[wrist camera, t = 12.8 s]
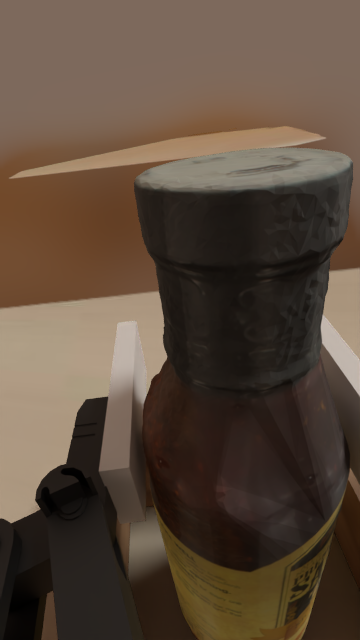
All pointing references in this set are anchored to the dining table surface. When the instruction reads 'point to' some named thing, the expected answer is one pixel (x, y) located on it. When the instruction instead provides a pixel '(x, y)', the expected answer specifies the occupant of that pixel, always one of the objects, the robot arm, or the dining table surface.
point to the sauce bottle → (245, 383)
